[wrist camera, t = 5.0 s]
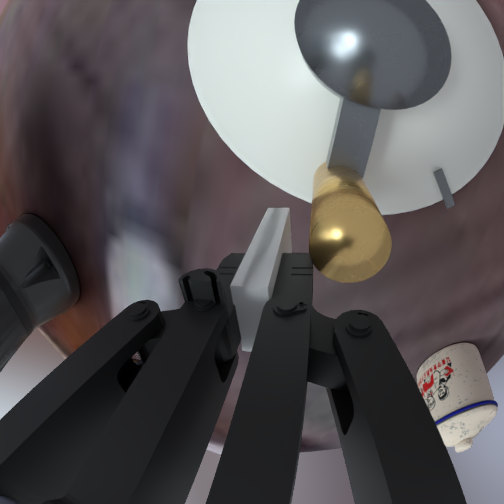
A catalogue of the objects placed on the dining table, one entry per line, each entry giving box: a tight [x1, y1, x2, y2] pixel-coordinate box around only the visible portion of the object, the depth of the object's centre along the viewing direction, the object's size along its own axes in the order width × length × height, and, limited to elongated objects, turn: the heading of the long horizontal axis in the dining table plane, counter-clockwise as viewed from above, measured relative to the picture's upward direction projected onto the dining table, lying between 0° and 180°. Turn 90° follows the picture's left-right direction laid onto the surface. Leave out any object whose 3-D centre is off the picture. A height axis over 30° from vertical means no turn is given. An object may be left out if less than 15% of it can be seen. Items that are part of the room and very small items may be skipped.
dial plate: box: [187, 0, 504, 215], centre depth 12 cm, size 22×22×2 cm
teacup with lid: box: [417, 343, 498, 452], centre depth 20 cm, size 12×9×12 cm
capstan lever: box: [294, 0, 452, 283], centre depth 9 cm, size 14×8×8 cm, turn 173°
